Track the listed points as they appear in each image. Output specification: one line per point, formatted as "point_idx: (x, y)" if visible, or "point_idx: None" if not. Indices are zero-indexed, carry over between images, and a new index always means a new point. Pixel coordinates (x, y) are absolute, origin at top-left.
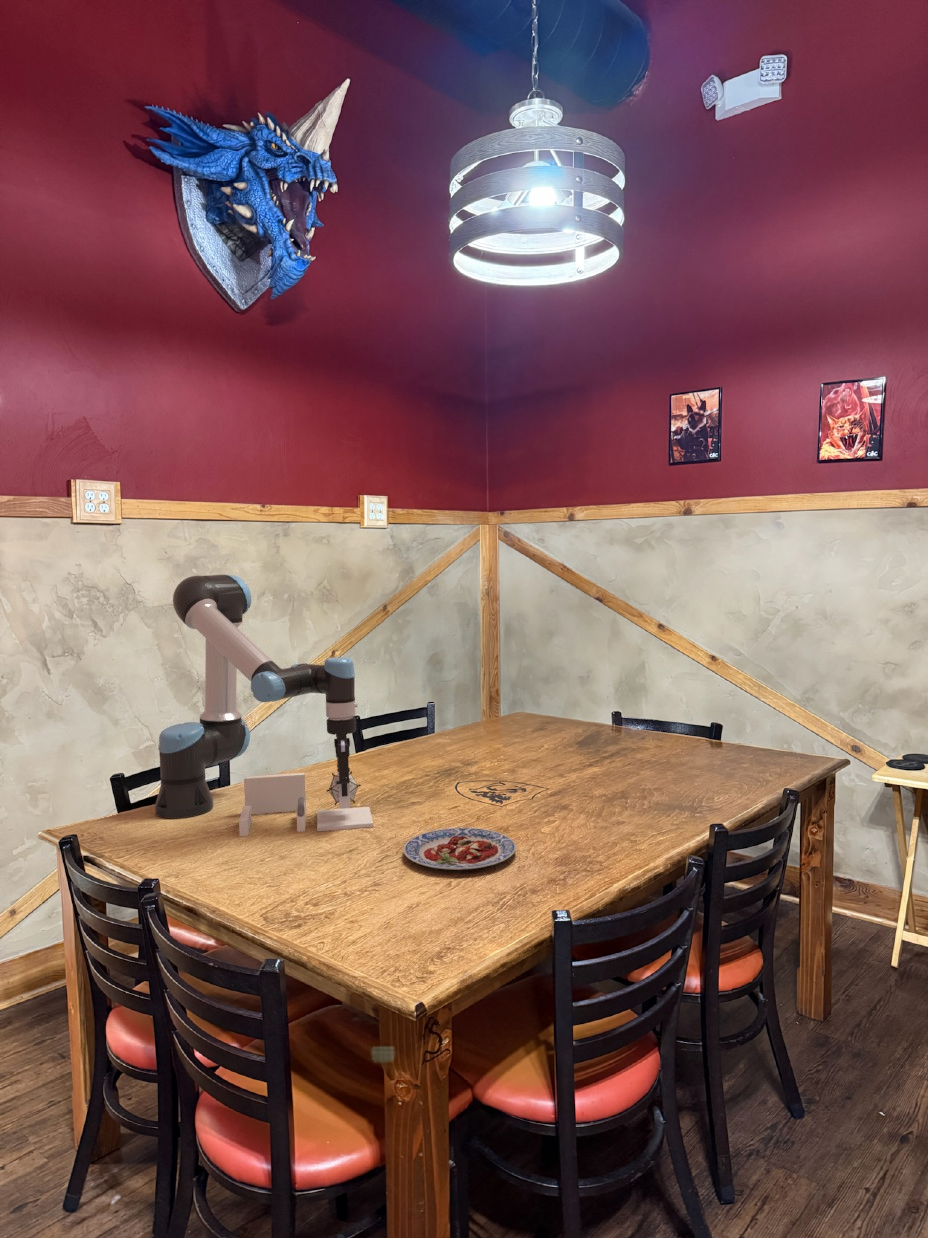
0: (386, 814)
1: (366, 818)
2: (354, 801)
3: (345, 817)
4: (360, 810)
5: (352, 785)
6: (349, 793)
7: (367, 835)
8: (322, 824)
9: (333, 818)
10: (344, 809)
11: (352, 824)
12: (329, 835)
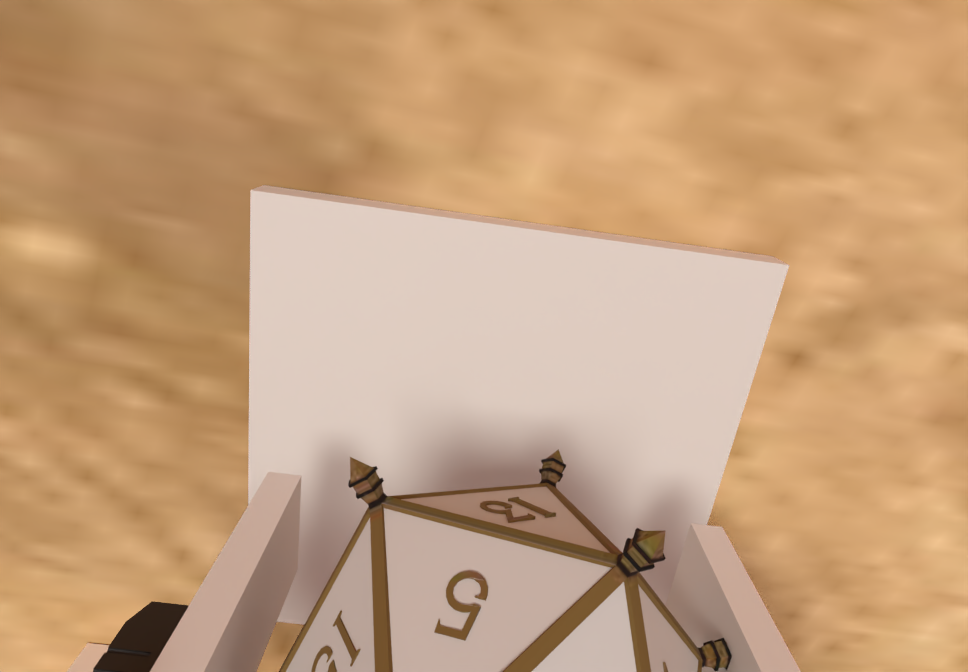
0: (452, 37)
1: (625, 296)
2: (552, 465)
3: (512, 457)
4: (354, 300)
5: (655, 664)
6: (796, 667)
7: (944, 344)
8: None
9: None
10: (278, 428)
11: (728, 438)
12: (773, 585)
